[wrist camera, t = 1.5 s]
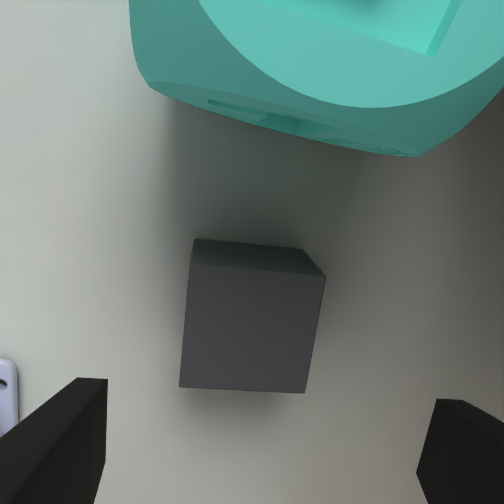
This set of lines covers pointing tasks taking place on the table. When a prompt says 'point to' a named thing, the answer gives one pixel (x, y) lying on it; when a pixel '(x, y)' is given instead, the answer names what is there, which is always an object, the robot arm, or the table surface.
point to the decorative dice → (328, 65)
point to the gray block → (250, 317)
